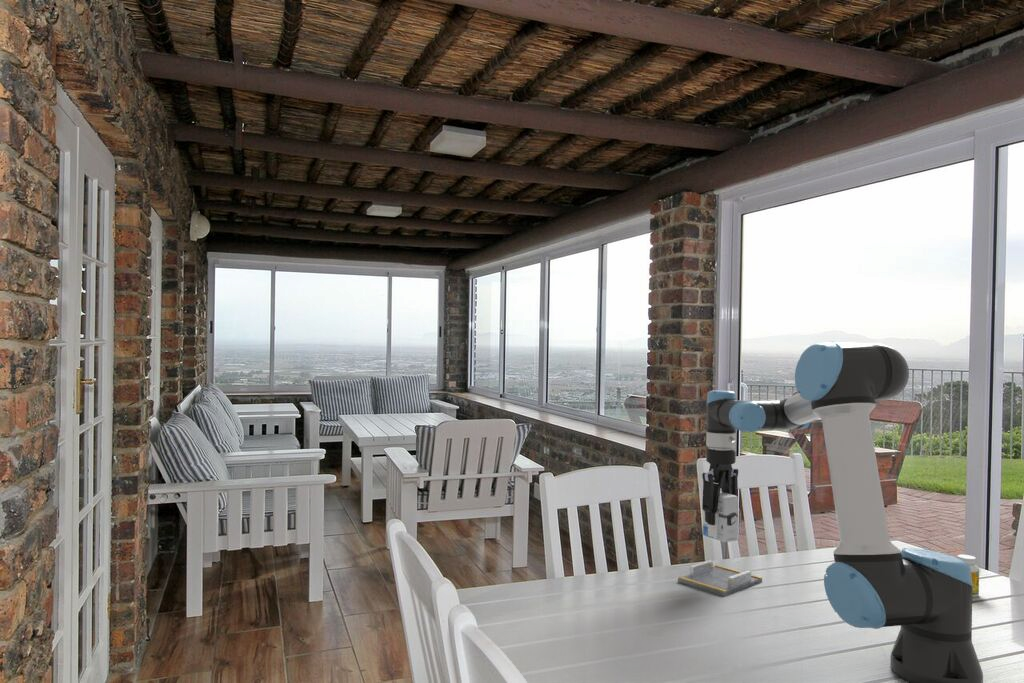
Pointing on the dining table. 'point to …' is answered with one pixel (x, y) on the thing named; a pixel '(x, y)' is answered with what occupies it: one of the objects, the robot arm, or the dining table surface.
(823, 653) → the dining table surface
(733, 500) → the ink box
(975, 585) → the supplement bottle
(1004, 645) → the dining table surface
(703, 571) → the grey tray
